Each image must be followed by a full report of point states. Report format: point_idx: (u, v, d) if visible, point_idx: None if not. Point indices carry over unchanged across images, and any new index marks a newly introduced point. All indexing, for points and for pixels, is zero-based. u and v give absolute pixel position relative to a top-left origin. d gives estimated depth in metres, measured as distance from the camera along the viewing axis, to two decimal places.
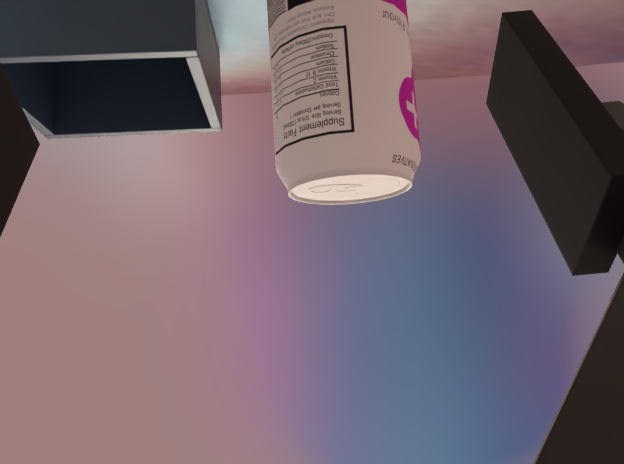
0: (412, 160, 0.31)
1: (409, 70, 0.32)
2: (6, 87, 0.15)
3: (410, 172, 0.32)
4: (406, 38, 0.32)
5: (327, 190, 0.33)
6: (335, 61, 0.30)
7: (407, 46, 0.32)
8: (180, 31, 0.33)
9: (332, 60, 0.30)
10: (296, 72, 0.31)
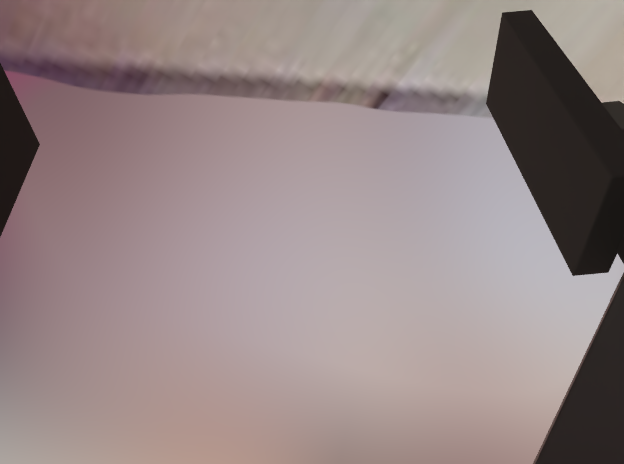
0: None
1: None
2: (6, 87, 0.15)
3: None
4: None
5: None
6: None
7: None
8: None
9: None
10: None
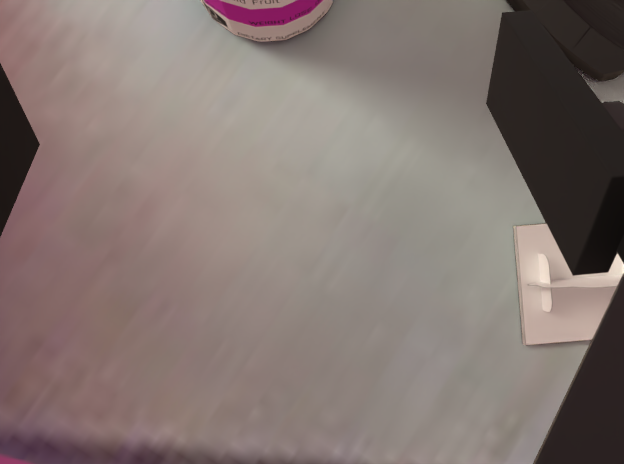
0: None
1: None
2: (6, 87, 0.15)
3: None
4: None
5: None
6: None
7: None
8: None
9: None
10: None
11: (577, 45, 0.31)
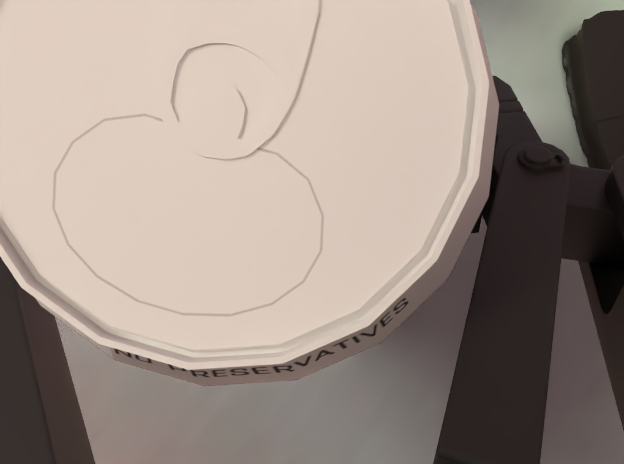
0: (310, 363, 0.09)
1: None
2: None
3: None
4: None
5: (209, 3, 0.08)
6: None
7: None
8: None
9: None
10: None
11: None
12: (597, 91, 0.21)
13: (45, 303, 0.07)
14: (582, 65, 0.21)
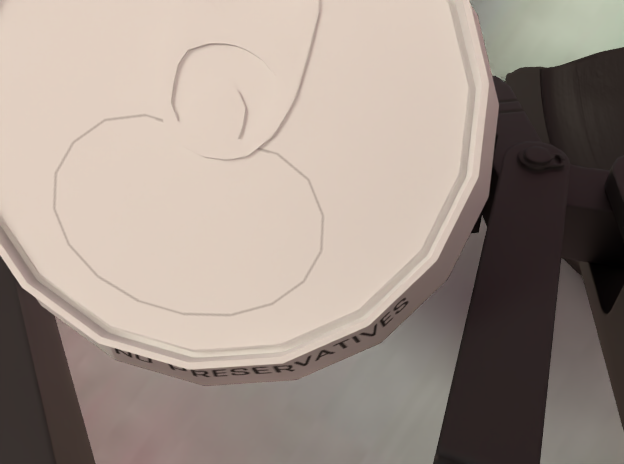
0: (310, 363, 0.09)
1: None
2: None
3: None
4: None
5: (210, 4, 0.08)
6: None
7: None
8: None
9: None
10: None
11: None
12: None
13: (46, 303, 0.08)
14: None
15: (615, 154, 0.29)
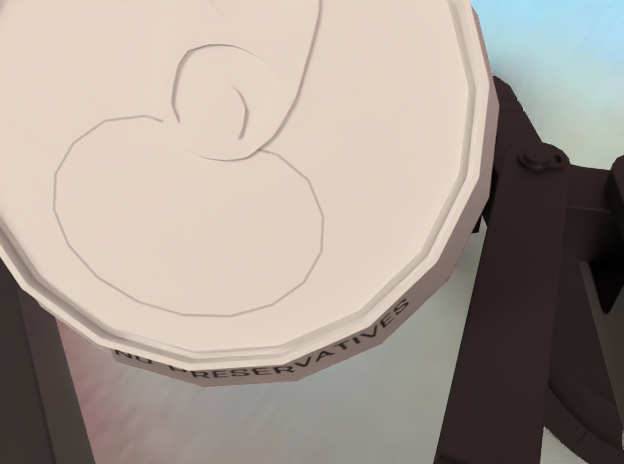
0: (310, 364, 0.09)
1: None
2: None
3: None
4: None
5: (210, 5, 0.08)
6: None
7: None
8: None
9: None
10: None
11: (576, 445, 0.36)
12: None
13: (45, 304, 0.07)
14: None
15: (575, 337, 0.37)
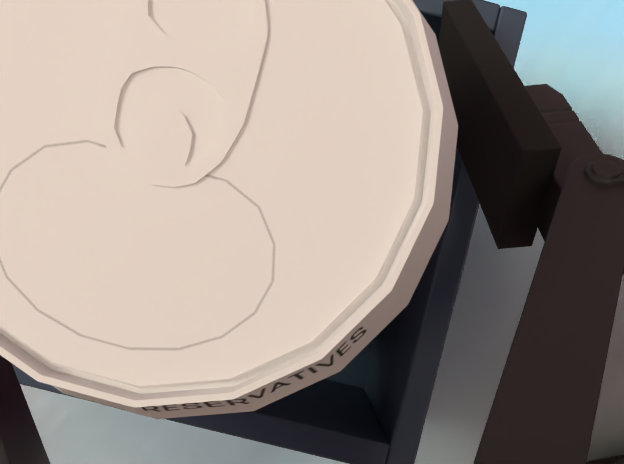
0: (266, 394, 0.08)
1: None
2: None
3: None
4: None
5: (154, 26, 0.07)
6: None
7: None
8: None
9: None
10: None
11: None
12: None
13: None
14: None
15: None
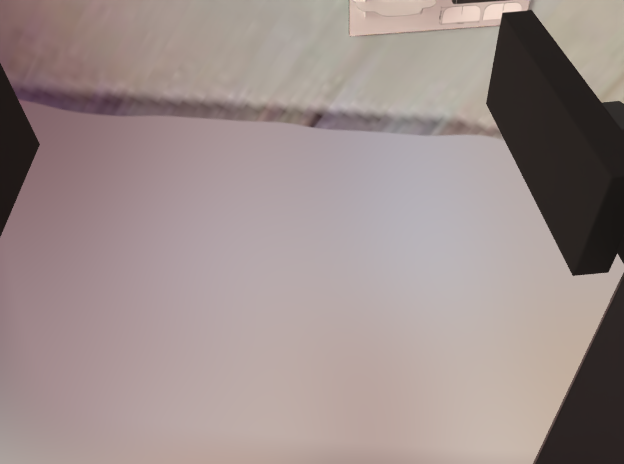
0: None
1: None
2: (6, 87, 0.15)
3: None
4: None
5: None
6: None
7: None
8: None
9: None
10: None
11: None
12: None
13: None
14: None
15: None
